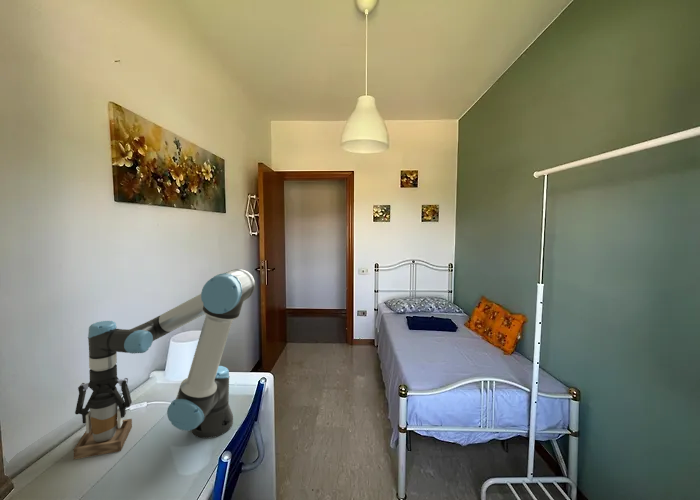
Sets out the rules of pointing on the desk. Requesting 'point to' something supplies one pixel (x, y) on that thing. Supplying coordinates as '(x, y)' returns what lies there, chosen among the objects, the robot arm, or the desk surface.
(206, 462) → the desk surface
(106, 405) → the coffee cup
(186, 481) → the desk surface
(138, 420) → the desk surface
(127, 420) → the tray
